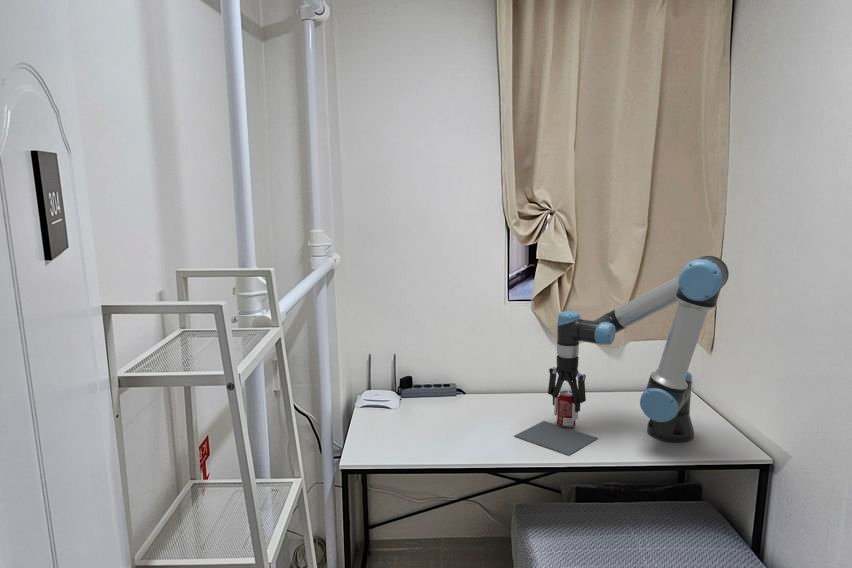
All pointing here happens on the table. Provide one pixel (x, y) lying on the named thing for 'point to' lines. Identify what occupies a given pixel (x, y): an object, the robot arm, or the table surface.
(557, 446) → the rubber mat
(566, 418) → the soda can
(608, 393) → the table surface
